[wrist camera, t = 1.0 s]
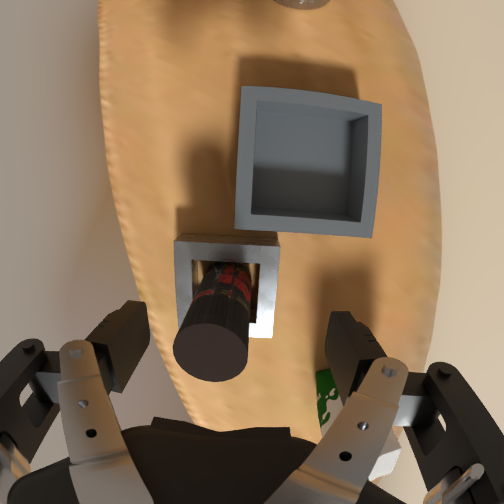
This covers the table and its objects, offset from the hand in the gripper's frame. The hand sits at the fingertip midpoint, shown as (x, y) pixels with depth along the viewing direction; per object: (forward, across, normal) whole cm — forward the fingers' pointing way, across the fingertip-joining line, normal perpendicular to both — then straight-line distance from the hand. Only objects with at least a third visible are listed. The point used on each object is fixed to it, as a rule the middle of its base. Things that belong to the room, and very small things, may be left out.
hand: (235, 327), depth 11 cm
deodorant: (+22, +2, +7) cm, 24 cm away
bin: (+22, -6, -8) cm, 24 cm away
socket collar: (+22, +2, +7) cm, 23 cm away
